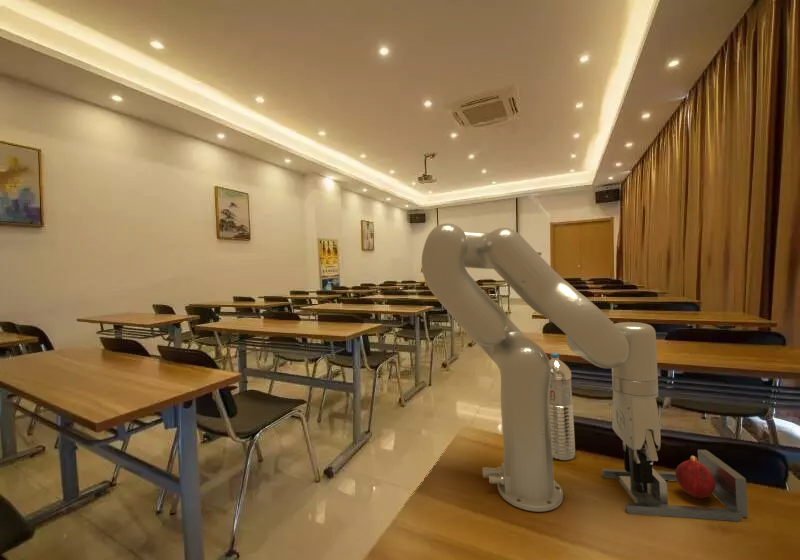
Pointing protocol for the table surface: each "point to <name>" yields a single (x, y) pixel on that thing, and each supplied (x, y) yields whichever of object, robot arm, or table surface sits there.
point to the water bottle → (561, 410)
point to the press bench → (726, 490)
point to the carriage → (645, 486)
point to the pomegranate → (695, 478)
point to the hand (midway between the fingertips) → (638, 475)
